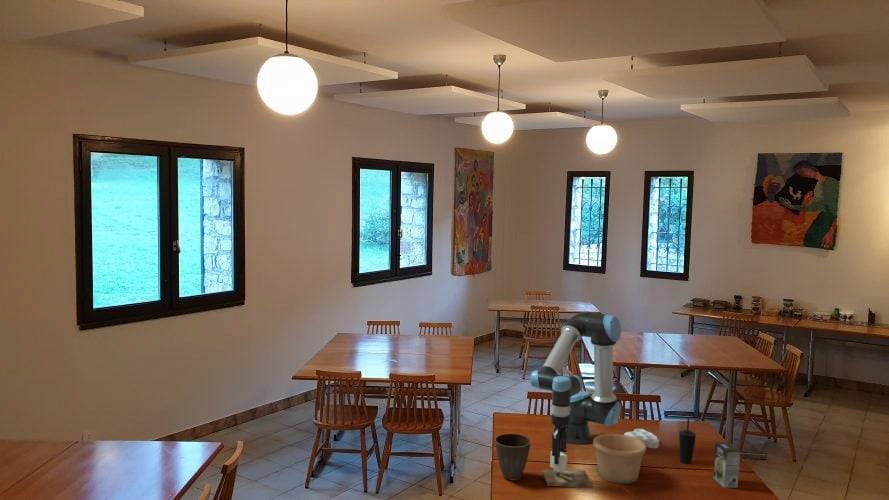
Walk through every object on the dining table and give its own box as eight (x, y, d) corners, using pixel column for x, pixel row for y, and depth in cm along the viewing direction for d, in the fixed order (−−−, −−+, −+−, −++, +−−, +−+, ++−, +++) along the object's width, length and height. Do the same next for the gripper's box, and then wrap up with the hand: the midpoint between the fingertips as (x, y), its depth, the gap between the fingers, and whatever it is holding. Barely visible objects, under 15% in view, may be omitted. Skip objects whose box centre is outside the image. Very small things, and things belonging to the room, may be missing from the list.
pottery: (587, 464, 289) (588, 432, 288) (637, 466, 288) (638, 434, 287) (597, 485, 267) (598, 451, 266) (650, 487, 266) (652, 453, 265)
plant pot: (506, 487, 263) (507, 449, 262) (487, 473, 276) (488, 436, 275) (536, 480, 270) (537, 443, 269) (516, 467, 283) (517, 431, 282)
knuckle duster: (620, 435, 326) (647, 434, 328) (637, 449, 308) (666, 448, 311) (621, 429, 325) (648, 428, 328) (638, 443, 308) (666, 441, 310)
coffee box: (712, 478, 277) (714, 441, 276) (727, 478, 277) (729, 441, 276) (723, 488, 268) (725, 450, 266) (738, 487, 268) (740, 449, 267)
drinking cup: (696, 466, 289) (698, 422, 287) (678, 464, 291) (680, 421, 289) (693, 459, 297) (695, 417, 295) (675, 457, 298) (678, 415, 296)
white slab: (569, 481, 265) (570, 459, 264) (549, 472, 273) (550, 451, 272) (573, 479, 266) (574, 458, 266) (553, 470, 275) (554, 450, 274)
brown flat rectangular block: (547, 486, 265) (547, 481, 265) (542, 474, 277) (542, 469, 277) (591, 487, 265) (591, 482, 265) (584, 475, 277) (584, 470, 277)
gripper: (562, 421, 260) (560, 478, 262) (575, 410, 274) (573, 464, 276) (544, 418, 264) (542, 474, 265) (558, 407, 278) (556, 460, 280)
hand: (558, 469), depth 271 cm, fingers closed on white slab, 4 cm apart
